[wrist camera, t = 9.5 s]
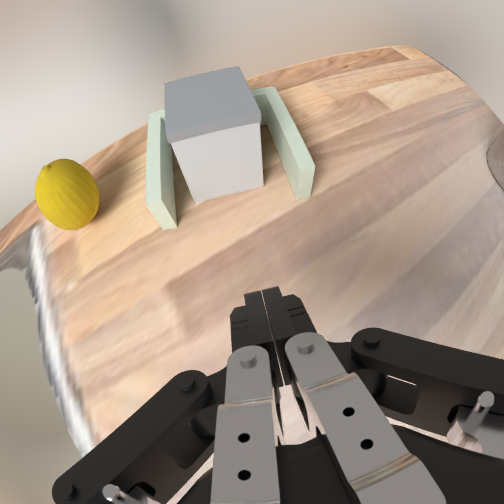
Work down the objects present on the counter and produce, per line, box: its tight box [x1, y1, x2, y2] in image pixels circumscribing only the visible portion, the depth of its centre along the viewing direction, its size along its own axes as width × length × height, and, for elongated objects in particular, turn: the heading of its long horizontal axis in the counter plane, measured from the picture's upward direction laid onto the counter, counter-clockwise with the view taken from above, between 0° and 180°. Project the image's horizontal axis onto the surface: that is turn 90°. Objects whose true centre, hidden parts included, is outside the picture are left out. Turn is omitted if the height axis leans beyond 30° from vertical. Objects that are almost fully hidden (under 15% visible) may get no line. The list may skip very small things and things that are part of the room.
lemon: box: [35, 159, 100, 230], centre depth 20 cm, size 6×6×8 cm
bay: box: [146, 86, 315, 230], centre depth 23 cm, size 12×11×4 cm
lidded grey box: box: [165, 66, 264, 203], centre depth 22 cm, size 6×7×8 cm
